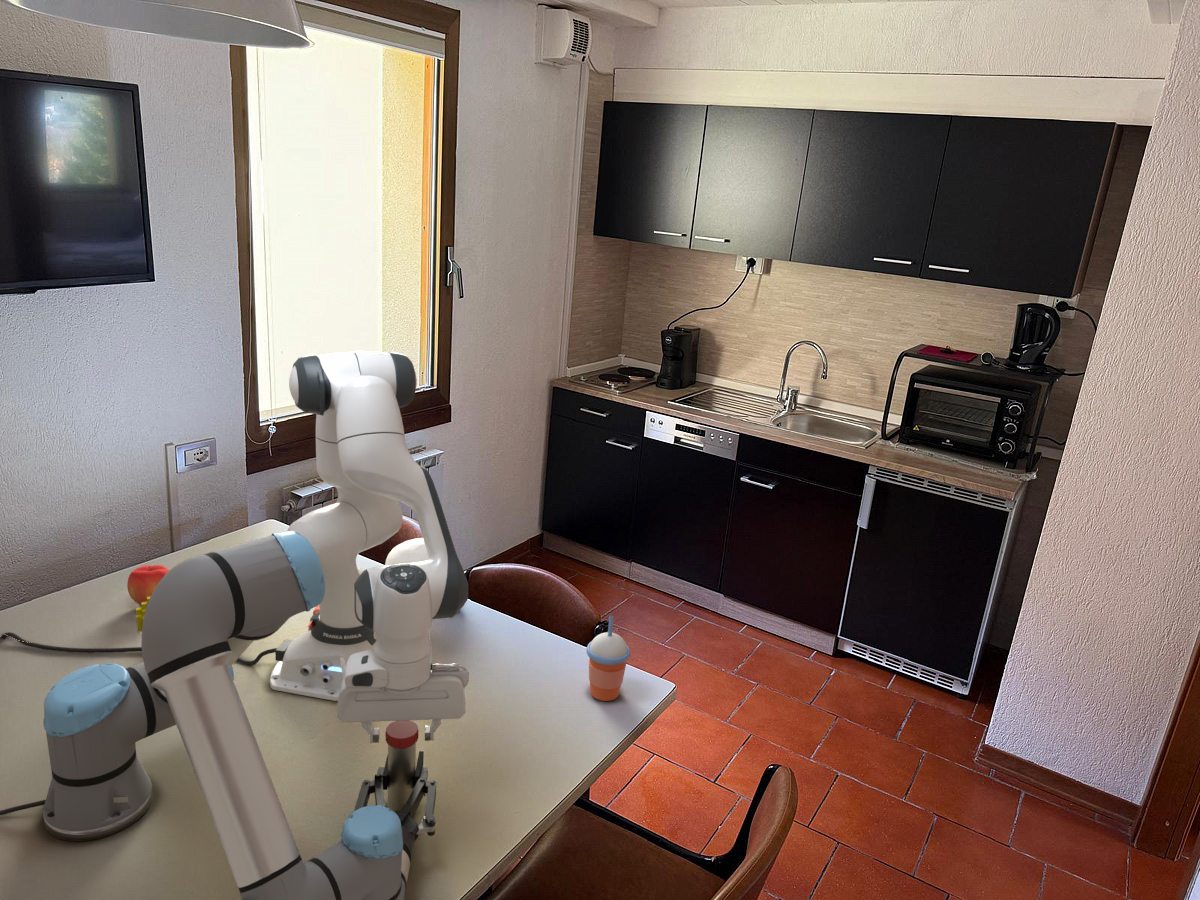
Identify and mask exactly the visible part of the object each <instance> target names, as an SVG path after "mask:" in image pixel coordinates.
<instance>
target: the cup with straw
mask: <svg viewBox="0 0 1200 900" xmlns="http://www.w3.org/2000/svg"><path fill="white" fill-rule="evenodd" d="M614 619H615V618H614V616H613V615H609V617H608V627H607V631H606V632H602V633H599V634H597V635H596V636H595V637H594V638H593V639H592V640H591V641H590V642H589V643H588V644H587V646H586V654H587V656H588V680H589V692H590V695H591V696H592V697H593V698H594V699H596V700H597V701H602V702H610V701H614V700H615V699H617V698H618V697H619V695H620V691H621V687H622V684H623V681H624V677H625V671H626V666H627V661H628V660H629V659H630V657H631V649H630V647H629V646H628V644H627V643H626V641H625V640H624V638H623V637H622V636H620V635H619V634H618V633H615V632H613V628H614Z"/></svg>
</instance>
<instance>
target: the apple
mask: <svg viewBox="0 0 1200 900" xmlns="http://www.w3.org/2000/svg"><path fill="white" fill-rule="evenodd" d="M169 570H170V569H169V568H168V567H166V566H165V565H162V564H146V565H140V566H139V567H137V568H135V569H133V570H132V571H131V572H130V574H129V575H128V577H127V584H126V588H127V593H128V596H129V597H130V598H131V599H132V601H134V602H135V603H136V604H138V605H139V606H140V607H142V602H147V597H149V596H151V595H152V593H153V591H154V589H155V588H156V586H157V585H158V583H159V582H160V581H161V579H162V578H163V577H164V576H165V575H166V574H167V572H168V571H169Z"/></svg>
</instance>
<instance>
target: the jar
mask: <svg viewBox="0 0 1200 900" xmlns="http://www.w3.org/2000/svg"><path fill="white" fill-rule="evenodd" d="M416 754H417V742H416V743H415V744H414V745H412V746H410V747H407V748H394V747H391V746H390V745H388V744H387V755H388V788H387V808H389V809H391V810H392V811H401V809H402V807H403V805H404V804H406V802H407V800H408V798H409V796H410V794H411V792H412V791H413V789H414V776H415V771H416V765H417V759H416V757H417V756H416Z"/></svg>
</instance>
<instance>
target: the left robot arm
mask: <svg viewBox="0 0 1200 900" xmlns="http://www.w3.org/2000/svg"><path fill="white" fill-rule="evenodd" d="M324 594H325V580H324V574H323V569H322V566H321V563H320V560H319V558H318V556H317V554H316V552H315V550H314V548H313V547H312V545H311V544H310V542H309V541H308V540H307V539H306V538H305V537H303V536H302V535H301V534H300V533H298V532H295V531H287V530H286V531H283V532H278V533H277V532H273V533H271V535H267V536H264V537H260V538H256V539H253V540H250V541H246V542H243V543H238V544H235V545H232V546H227V547H225V548H221V549H218V550H214V551H209V552H207V553H203V554H198V555H194V556H191V557H189V558H186V559H184V560H182V561H181V562H179V563H177V564H176V565H174V566H173V567H172V568H171V569H169V571H168V572H167V574H166V575H165V576H164V577H163V578H162V579H161V581H160V582H159V583H158V585H157V586H156V588H155V589H154V591H153V593H152V595H151V597H150V600H149V602H148V605H147V608H146V611H145V615H144V620H143V626H142V631H141V645H140V647H142V651H141V655H142V662H140V663H136V664H134V665H131V666H129V667H126V668H125V667H124V666H122V665H120V664H117V663H112V662H111V663H109V662H108V663H107V662H106V663H105V662H104V663H103V664H102V665H100V664H98V663H95V664H92V665H91V664H90V665H88V666H84V667H81V668H79V669H76V670H74V671H72V672H70V673H69V674H66V675H65V676H63V677H62V678H61V679H59V680H58V681H57V682H56V683H55V684H54V685H53V686H52V687H51V688H50V689H49V690H50V691H49V692H47V694H46V696H45V697H44V701H43V729H44V731H45V734H46V741H47V750H48V755H49V763H50V770H51V771H50V772H51V779H50V782H49V787H48V791H47V795H46V797H45V799H42V800H38V801H33V802H28V803H25V804H24V803H23V804H20V805H17V806H13V807H8V808H5V809H1V810H0V816H4V815H8V814H10V813H15V812H19V811H23V810H27V809H32V808H36V807H40V806H43V808H42V816H43V825H44V828H45V830H46V831H47V832H48V833H49V834H50V835H51V836H53V837H54V838H57V839H59V840H63V841H70V842H84V841H91V840H96V839H100V838H103V837H104V838H105V837H107V836H110V835H114V834H115V833H118V832H120V831H122V830H124V829H126V828H127V827H130V826H131V825H133V824H134V823H135V822H137V821H138V820H139V819H140V818H141V817H142V816H143V815H144V814H145V813H146V812H147V810H148V809H149V808H150V806H151V804H152V802H153V798H154V792H153V791H154V789H153V783H152V779H151V777H150V776H149V774H148V773H147V772H146V769H145V767H144V766H143V764H142V762H141V760H140V759H139V757H138V755H137V747H136V746H137V745H136V743H137V742H138V741H141V740H144V739H146V738H148V737H151V736H154V735H155V734H158V733H160V732H163V731H165V730H167V729H170V728H172V727H175V726H176V728H177V730H178V732H179V735H180V738H181V741H182V743H183V746H184V748H185V751H186V754H187V756H188V759H189V761H190V764H191V767H192V770H193V772H194V775H195V777H196V781H197V782H198V785H199V787H200V790H201V793H202V795H203V799H204V801H205V804H206V807H207V810H208V812H209V815H210V817H211V819H212V822H213V825H214V827H215V830H216V833H217V835H218V839H219V840H220V843H221V846H222V848H223V851H224V854H225V856H226V859H227V861H228V864H229V867H230V870H231V872H232V875H233V877H234V880H235V883H236V886H237V888H238V891H239V894H240V898H241V900H405V894H406V891H407V883H408V878H409V873H410V867H411V862H412V856H413V850H414V845H415V843H416V840H417V839H418V838H419V835H423V834H427V836H429V837H433V836H435V835H436V822H437V821H436V817H435V815H434V814H435V809H436V808H435V807H436V799H437V781H436V780H434V779H433V780H429V781H428V776H429V768H428V767H427V766H424V752H425V751H423V750H419V751H418V755H417V759H416V765H415V776H414V789H413V791H412V792H411V794H410V796H409V798H408V800H407V802H406V804H404V805H403V807H402V809H401V811H392V810H391V809H389V808H388V806H387V807H386V801H385V793H384V791H388V754H387V756H386V760H385V763H384V766H379V767H378V768H377V771H376V773H375V774H374V779H373V780H370V779H365V780H363V781H362V783H361V786H360V789H359V793H358V796H357V800H356V802H355V806H354V810H353V812H351V813H350V814H349V815H348V816H347V818H346V819H345V821H344V823H343V825H342V831H341V834H340V837H341V839H340V841H337V842H336V843H335V844H333V845H332V846H329V847H328V848H326V849H325V850H323V851H321V852H319V854H317V855H315V856H314V857H312V858H310V859H309V860H307V861H305V862H304V861H303V858H302V856H301V854H300V850H299V848H298V847H299V846H298V845H297V842H296V839H295V837H294V835H293V831H292V830H291V826H290V824H289V821H288V819H287V816H286V814H285V811H284V808H283V806H282V803H281V801H280V798H279V795H278V793H277V791H276V788H275V785H274V783H273V781H272V778H271V775H270V773H269V770H268V767H267V765H266V761H265V760H264V757H263V753H262V751H261V749H260V746H259V744H258V741H257V738H256V736H255V733H254V731H253V728H252V725H251V722H250V720H249V718H248V715H247V712H246V709H245V707H244V704H243V702H242V699H241V696H240V695H239V694H240V693H239V691H238V689H237V686H236V683H235V682H234V681H235V675H234V667H233V665H234V663H235V662H236V660H237V659H238V658H241V656H242V655H243V654H244V653H245V651H247V649H248V648H249V647H250V646H251V645H252V643H254V642H256V641H260V640H264V639H266V638H268V637H270V636H273V635H274V634H275V633H276V632H278V631H279V630H280V629H281V628H282V627H283V626H284V625H285V623H286V622H288V620H289V619H291V618H292V617H294V616H295V615H299V614H302V613H304V612H307V613H308V612H310V611H311V610H312V609H315V608H316V607H317V606H319V604H320V603H321V602H322V600H323V598H324ZM371 794H374V802H375V805H368V804H369V801H370V797H371ZM424 797H426V800H425V807H424V816H422V819H421V820H420V824H418V823H417V822H415V820H414V816H415V814H416V812H417V810H418V808H419V806H420V804H421V802H422V801H423V799H424Z"/></svg>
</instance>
